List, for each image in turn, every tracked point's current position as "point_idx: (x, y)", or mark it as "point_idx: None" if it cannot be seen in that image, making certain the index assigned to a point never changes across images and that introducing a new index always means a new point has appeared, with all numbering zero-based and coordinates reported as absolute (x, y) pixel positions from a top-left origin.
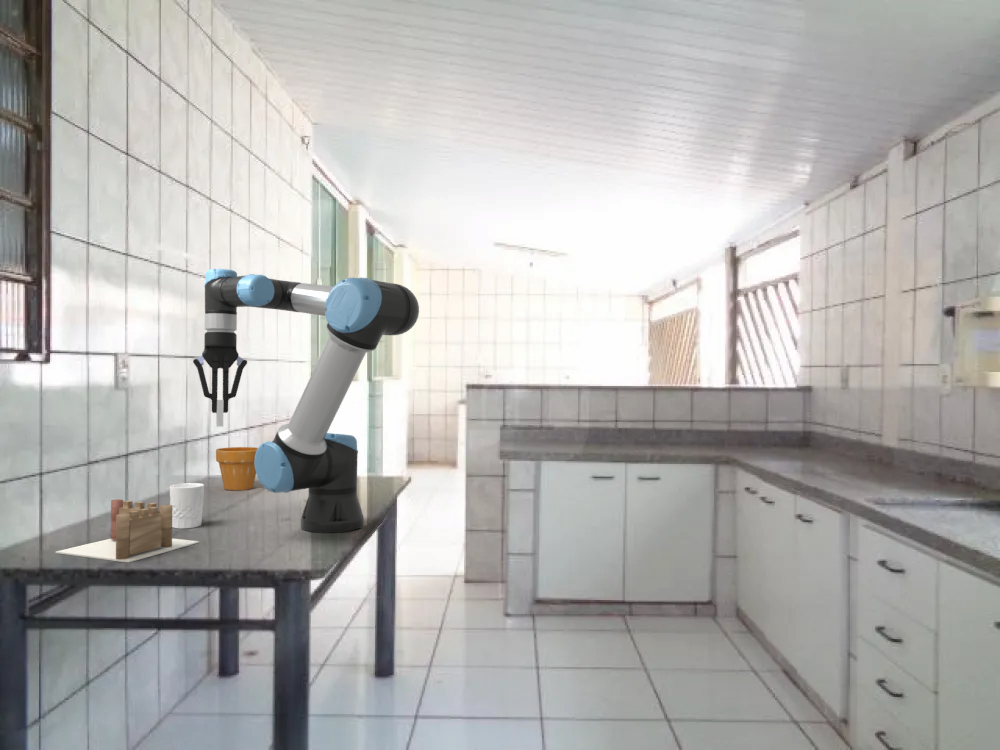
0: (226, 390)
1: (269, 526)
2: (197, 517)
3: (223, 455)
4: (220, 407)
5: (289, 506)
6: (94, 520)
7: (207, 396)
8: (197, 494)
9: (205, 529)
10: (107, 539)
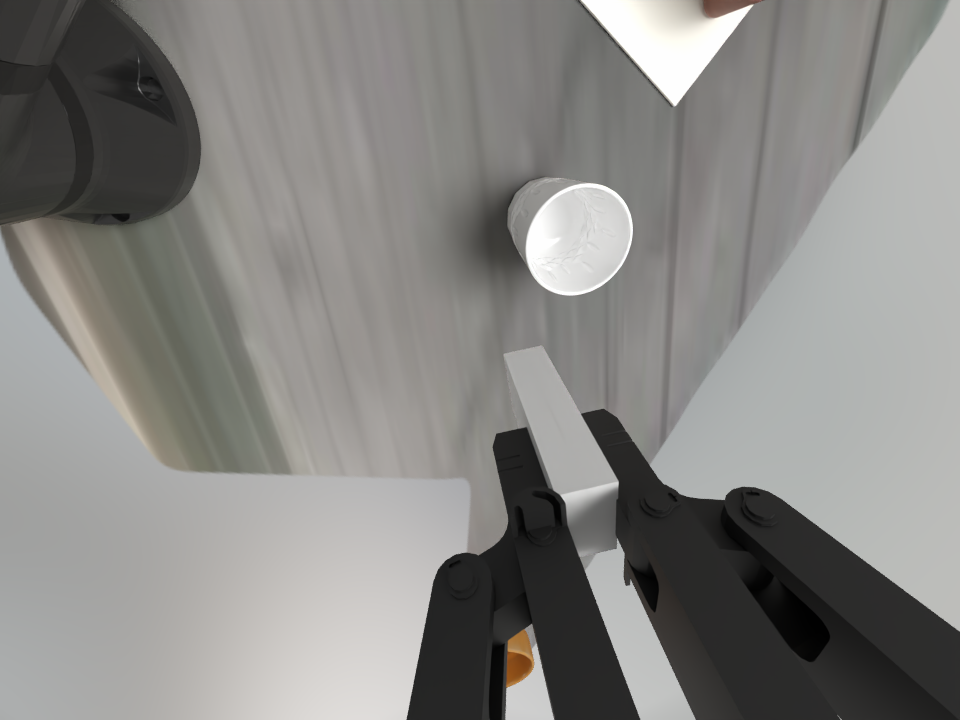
0: (560, 622)
1: (311, 164)
2: (519, 197)
3: (514, 639)
4: (560, 435)
5: (331, 429)
6: (729, 318)
7: (740, 497)
8: (537, 200)
9: (489, 154)
10: (735, 24)
